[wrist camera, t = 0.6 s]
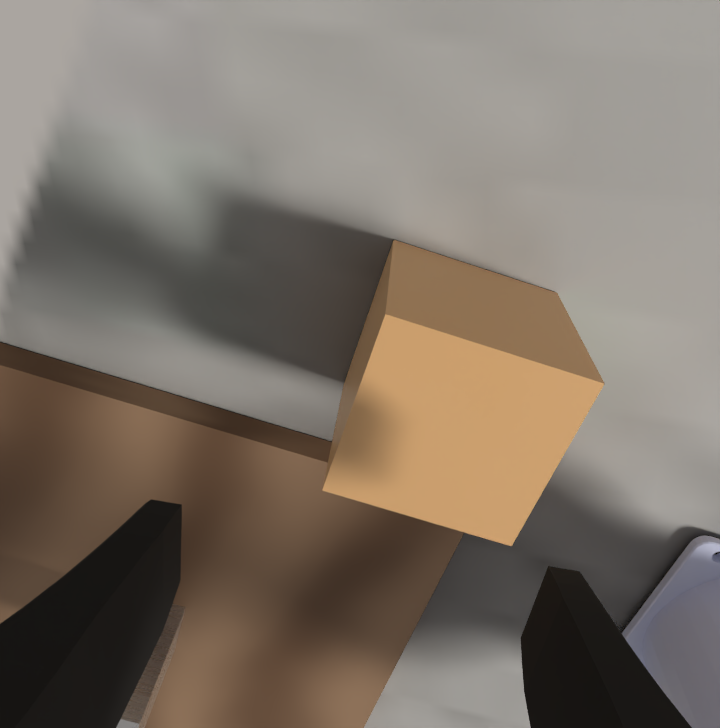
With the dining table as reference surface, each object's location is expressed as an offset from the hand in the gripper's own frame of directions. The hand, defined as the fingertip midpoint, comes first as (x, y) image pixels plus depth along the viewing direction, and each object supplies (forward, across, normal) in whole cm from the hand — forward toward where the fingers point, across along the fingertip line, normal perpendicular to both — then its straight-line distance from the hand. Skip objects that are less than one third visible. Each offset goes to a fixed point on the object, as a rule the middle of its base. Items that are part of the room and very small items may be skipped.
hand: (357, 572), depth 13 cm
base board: (+9, +7, +13) cm, 18 cm away
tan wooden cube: (+9, -2, -1) cm, 10 cm away
